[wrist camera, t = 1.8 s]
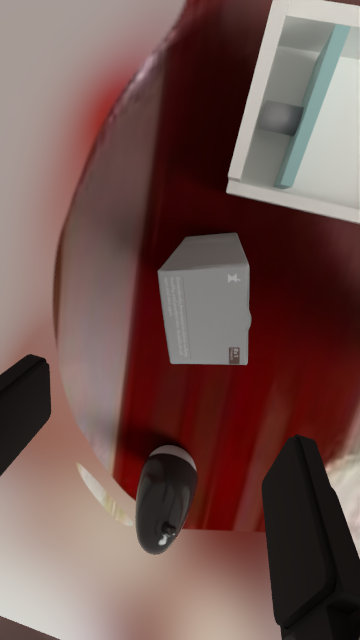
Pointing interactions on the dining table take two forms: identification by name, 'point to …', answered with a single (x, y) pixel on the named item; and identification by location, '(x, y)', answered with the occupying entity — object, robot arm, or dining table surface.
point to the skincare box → (206, 301)
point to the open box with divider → (289, 88)
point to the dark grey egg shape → (164, 497)
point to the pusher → (303, 108)
